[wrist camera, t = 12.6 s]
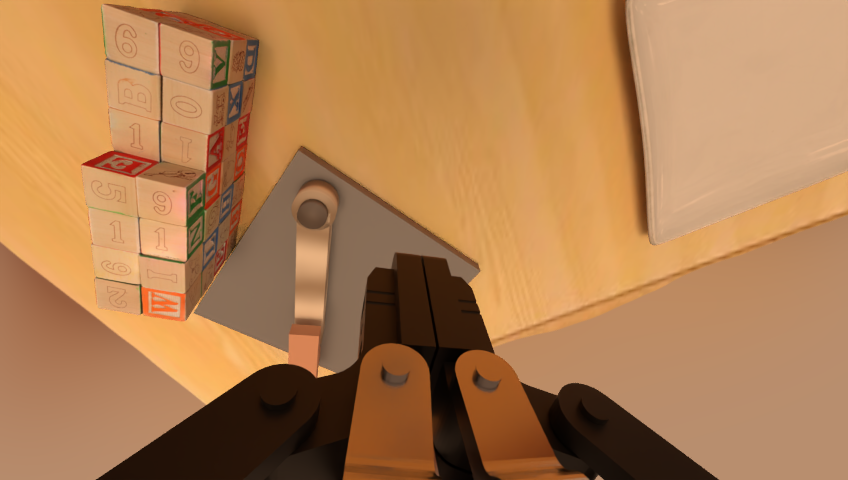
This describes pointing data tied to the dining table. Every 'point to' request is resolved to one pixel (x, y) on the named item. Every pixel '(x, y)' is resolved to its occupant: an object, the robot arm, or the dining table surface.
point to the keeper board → (348, 268)
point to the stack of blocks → (168, 159)
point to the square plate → (736, 104)
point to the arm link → (313, 250)
